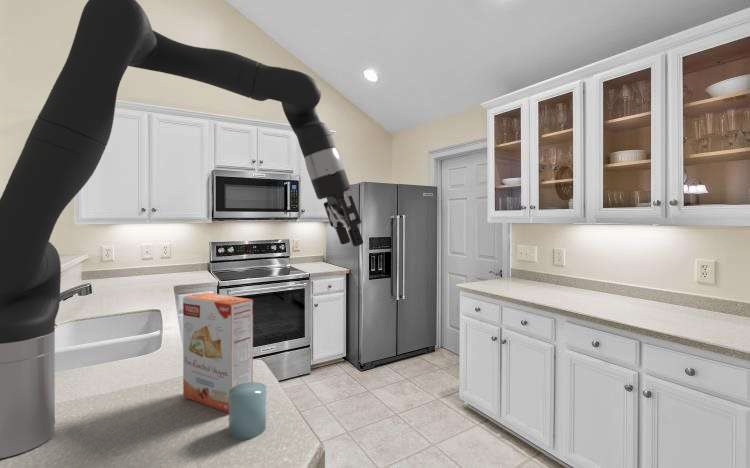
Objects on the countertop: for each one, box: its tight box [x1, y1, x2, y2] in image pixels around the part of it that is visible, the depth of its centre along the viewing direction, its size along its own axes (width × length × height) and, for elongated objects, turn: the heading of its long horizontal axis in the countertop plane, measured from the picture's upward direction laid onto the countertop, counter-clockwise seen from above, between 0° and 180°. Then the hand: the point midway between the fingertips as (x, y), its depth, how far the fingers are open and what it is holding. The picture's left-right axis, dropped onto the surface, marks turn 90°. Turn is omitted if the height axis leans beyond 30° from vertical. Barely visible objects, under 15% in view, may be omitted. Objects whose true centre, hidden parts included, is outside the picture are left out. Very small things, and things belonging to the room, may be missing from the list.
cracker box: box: [182, 292, 254, 414], centre depth 73 cm, size 14×6×21 cm, turn 62°
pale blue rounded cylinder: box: [228, 381, 267, 441], centre depth 63 cm, size 6×6×7 cm
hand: (351, 244), depth 80 cm, fingers open, 8 cm apart
